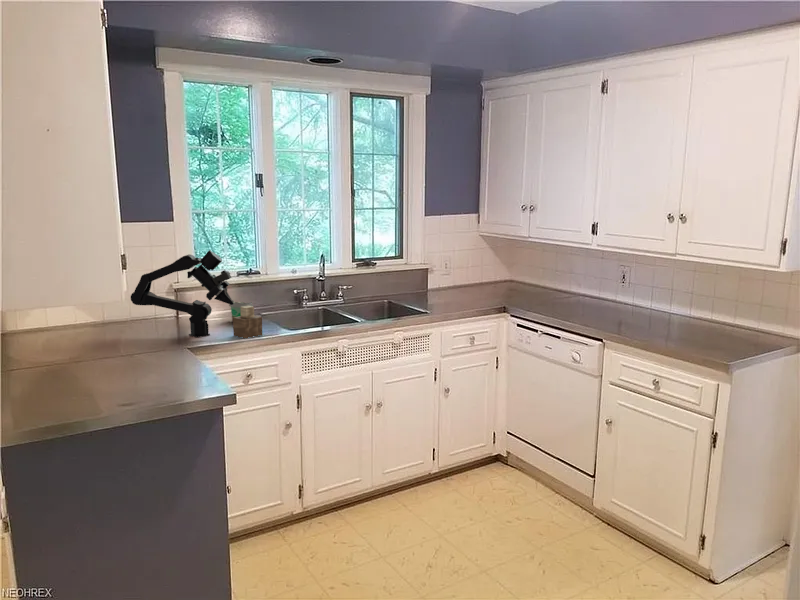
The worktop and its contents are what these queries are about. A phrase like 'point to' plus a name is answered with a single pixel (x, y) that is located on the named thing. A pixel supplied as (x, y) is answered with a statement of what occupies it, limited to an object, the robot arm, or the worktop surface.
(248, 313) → the peg
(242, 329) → the walnut block
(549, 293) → the worktop surface
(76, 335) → the worktop surface
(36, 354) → the worktop surface
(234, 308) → the food container
